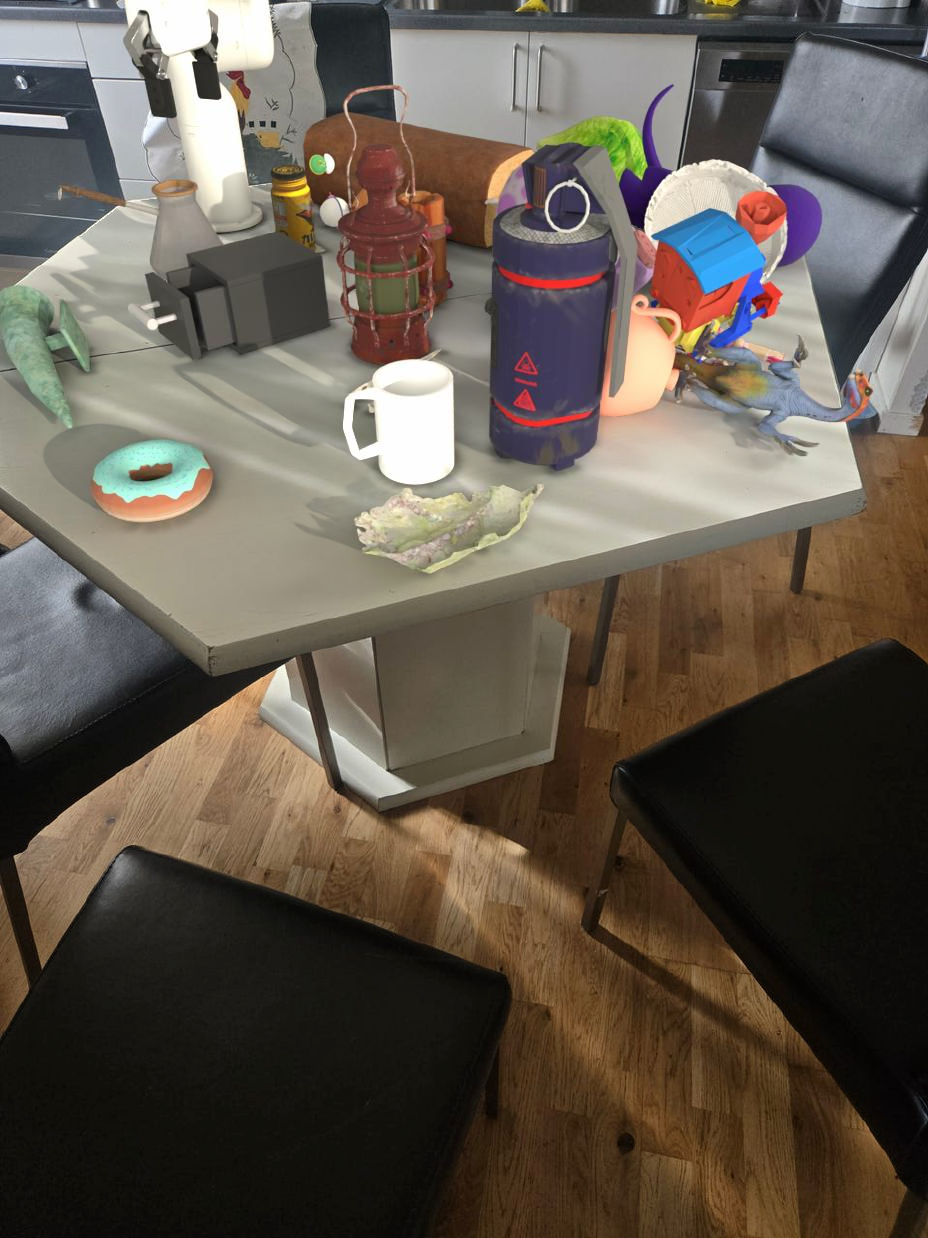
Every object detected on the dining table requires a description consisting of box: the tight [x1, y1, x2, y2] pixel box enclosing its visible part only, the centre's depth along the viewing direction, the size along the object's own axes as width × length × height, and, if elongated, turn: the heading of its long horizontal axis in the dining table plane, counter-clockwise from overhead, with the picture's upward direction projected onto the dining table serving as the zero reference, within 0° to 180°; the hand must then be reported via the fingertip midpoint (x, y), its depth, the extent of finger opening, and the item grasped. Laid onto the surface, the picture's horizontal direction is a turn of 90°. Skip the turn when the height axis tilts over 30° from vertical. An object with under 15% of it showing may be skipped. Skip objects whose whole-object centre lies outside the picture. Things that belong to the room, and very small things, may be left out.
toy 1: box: [309, 154, 350, 233], centre depth 147 cm, size 6×12×8 cm
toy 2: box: [495, 164, 657, 312], centre depth 121 cm, size 17×23×30 cm
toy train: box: [649, 191, 787, 364], centre depth 100 cm, size 10×16×15 cm, turn 118°
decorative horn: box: [0, 284, 91, 430], centre depth 109 cm, size 7×11×30 cm
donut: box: [90, 438, 214, 523], centre depth 91 cm, size 12×12×4 cm
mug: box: [350, 188, 454, 308], centre depth 124 cm, size 15×8×15 cm, turn 71°
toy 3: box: [619, 83, 823, 268], centre depth 135 cm, size 21×24×30 cm
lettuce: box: [536, 115, 648, 185], centre depth 150 cm, size 15×22×15 cm, turn 54°
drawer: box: [127, 265, 236, 361], centre depth 115 cm, size 16×10×8 cm, turn 128°
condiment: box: [269, 164, 327, 254], centre depth 139 cm, size 7×8×12 cm
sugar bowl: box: [599, 293, 681, 417], centre depth 101 cm, size 12×14×10 cm
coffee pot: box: [57, 179, 224, 281], centre depth 128 cm, size 21×12×15 cm, turn 114°
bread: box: [302, 111, 536, 249], centre depth 150 cm, size 16×39×13 cm, turn 54°
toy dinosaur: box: [672, 319, 874, 457], centre depth 102 cm, size 11×22×20 cm
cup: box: [342, 358, 455, 485], centre depth 93 cm, size 8×12×10 cm
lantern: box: [335, 84, 436, 365], centre depth 107 cm, size 12×12×30 cm
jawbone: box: [347, 348, 442, 414], centre depth 110 cm, size 17×5×2 cm, turn 148°
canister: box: [488, 142, 638, 472], centre depth 89 cm, size 14×12×30 cm
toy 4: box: [675, 326, 786, 366], centre depth 110 cm, size 7×6×15 cm
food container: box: [644, 159, 788, 285], centre depth 127 cm, size 20×20×7 cm
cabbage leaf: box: [354, 482, 545, 574], centre depth 85 cm, size 16×8×15 cm
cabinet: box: [186, 230, 331, 355], centre depth 119 cm, size 14×12×10 cm
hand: (188, 107), depth 109 cm, fingers open, 9 cm apart
